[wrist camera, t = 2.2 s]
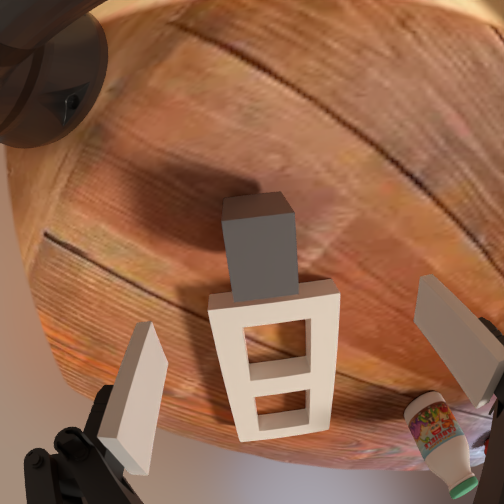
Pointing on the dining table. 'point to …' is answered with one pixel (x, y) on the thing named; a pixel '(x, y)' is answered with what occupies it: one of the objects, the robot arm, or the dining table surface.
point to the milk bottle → (441, 442)
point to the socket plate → (279, 371)
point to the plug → (260, 246)
